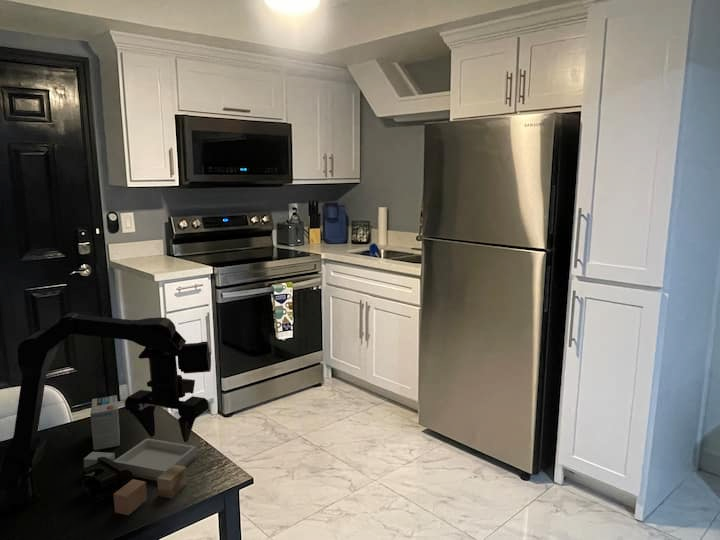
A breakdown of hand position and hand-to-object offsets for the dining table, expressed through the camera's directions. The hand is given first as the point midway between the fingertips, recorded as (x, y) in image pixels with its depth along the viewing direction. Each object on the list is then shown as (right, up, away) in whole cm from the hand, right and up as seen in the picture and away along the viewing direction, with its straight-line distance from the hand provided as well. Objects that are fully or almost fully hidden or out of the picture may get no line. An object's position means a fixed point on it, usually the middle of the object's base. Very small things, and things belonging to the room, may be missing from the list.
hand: (169, 438), depth 121 cm
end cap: (-15, -13, +2) cm, 20 cm away
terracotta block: (-7, -14, -4) cm, 16 cm away
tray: (-8, -11, +13) cm, 19 cm away
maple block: (0, -13, +2) cm, 13 cm away
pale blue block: (-21, -12, +10) cm, 25 cm away
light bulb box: (-27, -9, +26) cm, 38 cm away
